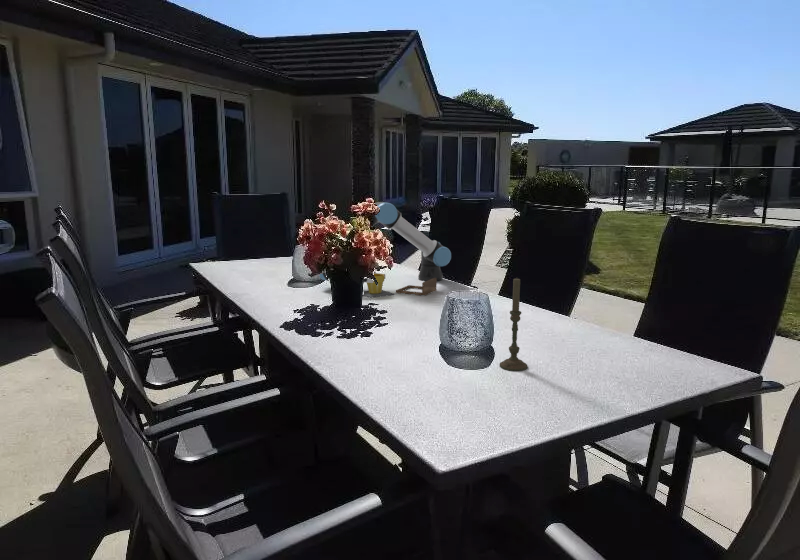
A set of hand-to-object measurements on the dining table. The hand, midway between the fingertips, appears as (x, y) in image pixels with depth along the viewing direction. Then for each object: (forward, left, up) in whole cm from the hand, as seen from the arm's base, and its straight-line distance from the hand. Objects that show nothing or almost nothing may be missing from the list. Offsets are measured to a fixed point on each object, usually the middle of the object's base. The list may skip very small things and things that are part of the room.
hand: (379, 278), depth 297 cm
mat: (+1, -2, -9) cm, 9 cm away
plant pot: (+1, -2, -8) cm, 9 cm away
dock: (-21, +5, -9) cm, 23 cm away
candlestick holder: (+24, +125, -9) cm, 127 cm away
